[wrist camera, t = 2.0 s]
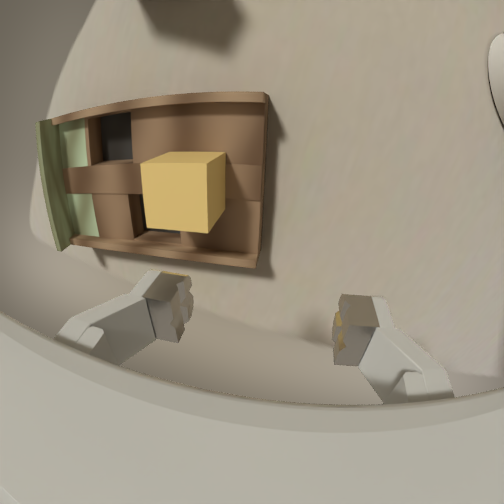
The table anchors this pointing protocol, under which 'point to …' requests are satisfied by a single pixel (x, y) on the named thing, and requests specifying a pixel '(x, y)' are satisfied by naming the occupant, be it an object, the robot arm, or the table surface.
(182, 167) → the block
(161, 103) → the board
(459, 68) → the table surface
